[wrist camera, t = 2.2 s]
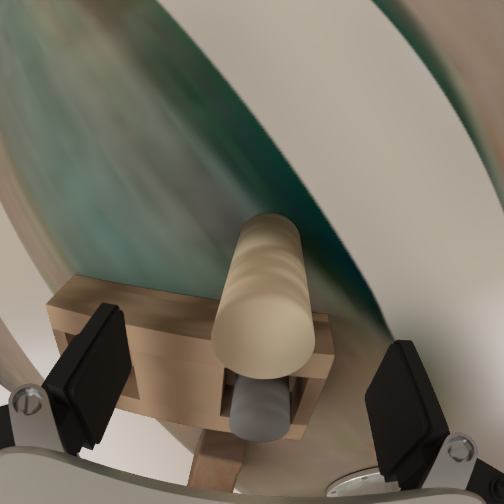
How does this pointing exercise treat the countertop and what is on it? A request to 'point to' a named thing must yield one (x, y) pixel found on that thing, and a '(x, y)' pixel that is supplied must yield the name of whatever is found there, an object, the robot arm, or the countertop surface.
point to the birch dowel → (265, 302)
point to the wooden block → (217, 461)
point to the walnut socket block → (193, 363)
